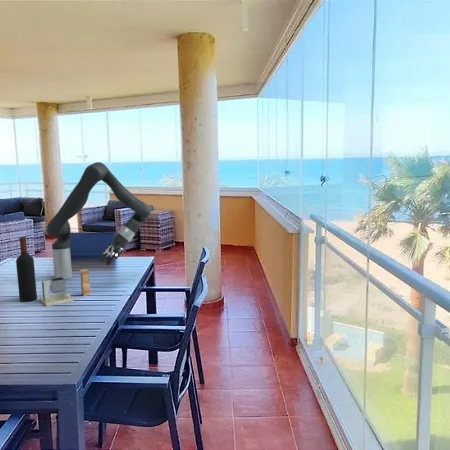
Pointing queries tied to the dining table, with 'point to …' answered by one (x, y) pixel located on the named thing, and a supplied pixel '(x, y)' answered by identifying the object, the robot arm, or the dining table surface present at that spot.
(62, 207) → the robot arm
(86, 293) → the tan wooden block
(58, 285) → the cup bracket
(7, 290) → the dining table surface
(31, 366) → the dining table surface
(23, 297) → the wine bottle
